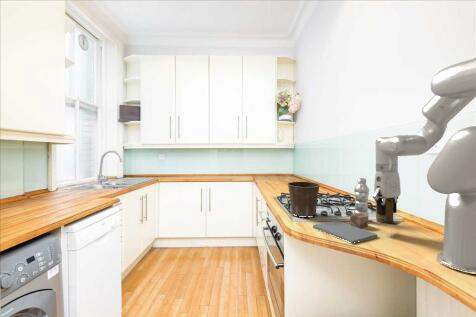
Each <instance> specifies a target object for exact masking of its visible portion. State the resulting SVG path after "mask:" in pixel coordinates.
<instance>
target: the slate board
mask: <svg viewBox="0 0 476 317" xmlns="http://www.w3.org/2000/svg"><path fill="white" fill-rule="evenodd" d="M312 228H313V229H315V230H317V229H318V230H317V231H320V230H321V231H320V232H322V231H323V232H322V233H324V232H326V233H325V234H327V233H329V234H331V235H334V236H336V237H339V238H341V239H344V240H347V241H349V242H351V243H354V242H358V241H362V240H366V241H368V240H367V239H369V240H372V239H371V238H373V239H376V238H375V237H377V238H378V234H376V233H375V232H373V231H372V232H371V231H368V230H366V229H364V228H362V229H360V228H357V227H354V226H351V225H350V224H348V223H345V222H342V221H339V220H331V221H327V222H322V223H317V224H313V225H312ZM329 234H328V235H329ZM331 235H330V236H331ZM334 236H333V237H334ZM336 237H335V238H336ZM339 238H338V239H339ZM341 239H340V240H341ZM362 242H363V241H362Z"/></svg>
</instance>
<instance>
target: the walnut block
mask: <svg viewBox="0 0 476 317" xmlns="http://www.w3.org/2000/svg"><path fill="white" fill-rule="evenodd" d="M349 225H351V226H354V227H357V228H360V229H366V228H369V218H368V216H366V215H362V214H359V213H357V214H354V213H352V214H349Z"/></svg>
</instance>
